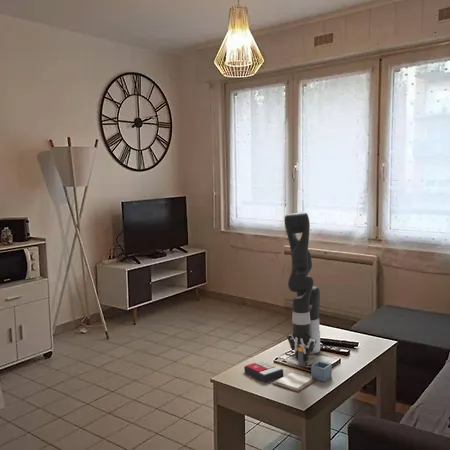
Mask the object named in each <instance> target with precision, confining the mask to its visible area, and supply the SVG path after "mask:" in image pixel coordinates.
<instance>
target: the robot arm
mask: <svg viewBox="0 0 450 450" xmlns="http://www.w3.org/2000/svg"><path fill="white" fill-rule="evenodd" d="M310 226H311V225H310V218H309V213H307V212H296V213H288V214H286V215H285V216H284V228H285V231H286V235H287V239H288V243H289V249H290V255H291V256H290V257H291V270H290V275H289V278H288V282H287V287H288V289H289V291H290V292H292V293H296V296H295V297H294V298H293V299H292V316H291V319H292V321H291V322H292V334H289V335H287V336H286V338H287V341H288V343H289V346H290V349H291V350H293V351H294V356H295V359H296V361H298V346H302V348H303V352H304V354H303V361H304V362H306V363H307V362H308V361H309V358H310V357H309V355H311V354H313V355H314V354H319V352H320V351H321V331H320V300H321V291H320V287H318V286H314V279H313V277H312V276H311V275H309V273H310V272H311V270H312V267H313V262H312V255H311V253H310V252H311V251H310V250H309V241H310V231H311V230H310ZM296 234H301V237H300V238H299V239H298V237H297V235H296ZM310 306H311V307H310Z"/></svg>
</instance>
